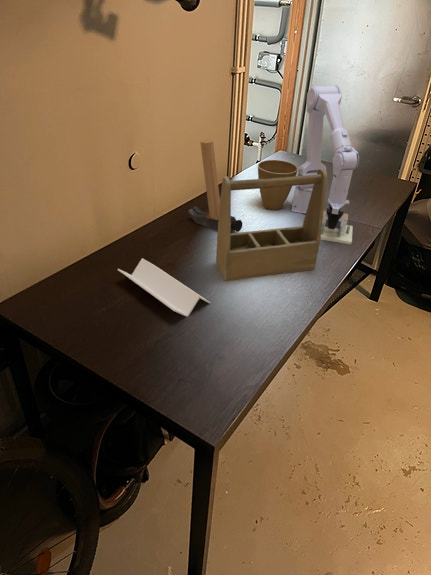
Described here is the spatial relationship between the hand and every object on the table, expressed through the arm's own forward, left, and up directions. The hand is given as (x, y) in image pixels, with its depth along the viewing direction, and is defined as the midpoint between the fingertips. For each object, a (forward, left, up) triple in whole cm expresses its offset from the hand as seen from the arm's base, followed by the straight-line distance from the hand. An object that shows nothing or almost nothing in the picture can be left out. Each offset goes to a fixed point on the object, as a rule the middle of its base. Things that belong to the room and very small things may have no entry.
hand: (331, 224), depth 150 cm
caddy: (-18, -29, -4) cm, 34 cm away
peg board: (0, 0, -3) cm, 3 cm away
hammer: (-40, -9, -4) cm, 41 cm away
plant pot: (-23, +15, -4) cm, 28 cm away
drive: (0, 0, -2) cm, 2 cm away
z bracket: (-43, -51, -4) cm, 67 cm away
